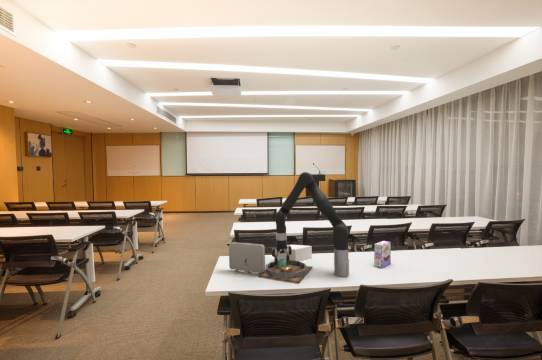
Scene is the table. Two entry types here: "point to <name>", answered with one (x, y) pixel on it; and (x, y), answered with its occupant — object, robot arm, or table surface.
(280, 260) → the teal short hollow cylinder
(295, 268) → the carrier plate
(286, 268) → the sun gear
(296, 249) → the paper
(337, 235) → the robot arm
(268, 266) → the ring gear
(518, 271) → the table surface
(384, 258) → the candy box
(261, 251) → the network device
